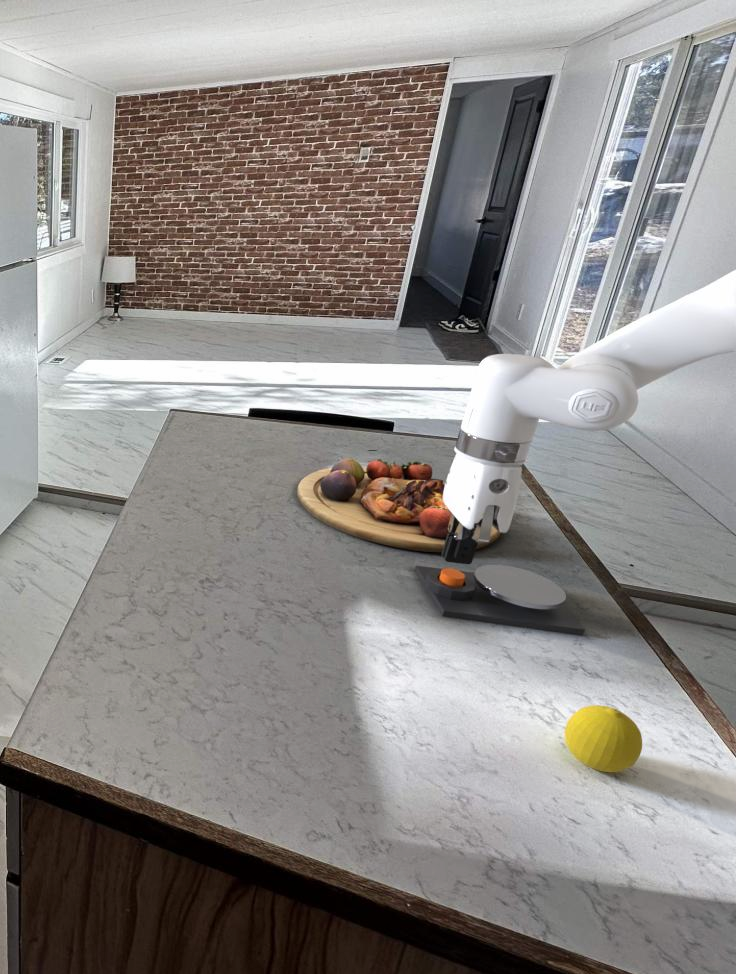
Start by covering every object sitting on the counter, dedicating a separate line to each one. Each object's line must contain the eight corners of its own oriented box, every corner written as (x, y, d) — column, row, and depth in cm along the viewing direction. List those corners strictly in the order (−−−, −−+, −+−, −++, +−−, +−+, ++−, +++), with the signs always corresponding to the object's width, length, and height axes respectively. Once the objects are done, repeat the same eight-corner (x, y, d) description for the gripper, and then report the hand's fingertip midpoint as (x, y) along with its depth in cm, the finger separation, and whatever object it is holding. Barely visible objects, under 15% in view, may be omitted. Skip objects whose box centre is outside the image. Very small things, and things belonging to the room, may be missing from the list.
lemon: (632, 771, 68) (660, 714, 65) (617, 798, 65) (646, 740, 62) (563, 737, 72) (587, 682, 70) (547, 762, 70) (571, 706, 67)
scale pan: (542, 574, 95) (544, 569, 95) (580, 614, 86) (582, 609, 86) (462, 565, 98) (463, 560, 98) (490, 603, 90) (492, 598, 89)
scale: (536, 590, 97) (543, 571, 96) (580, 641, 87) (589, 619, 85) (410, 575, 102) (415, 556, 101) (437, 620, 92) (443, 600, 91)
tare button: (458, 578, 96) (461, 569, 95) (465, 589, 93) (468, 580, 93) (436, 575, 97) (438, 567, 96) (443, 586, 94) (445, 577, 94)
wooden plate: (536, 568, 102) (553, 523, 99) (312, 543, 112) (321, 501, 109) (458, 483, 130) (468, 446, 127) (284, 469, 140) (290, 434, 137)
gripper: (554, 470, 79) (510, 593, 86) (500, 428, 92) (465, 538, 99) (481, 465, 82) (444, 585, 88) (438, 424, 95) (409, 531, 101)
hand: (455, 560), depth 94 cm, fingers closed
